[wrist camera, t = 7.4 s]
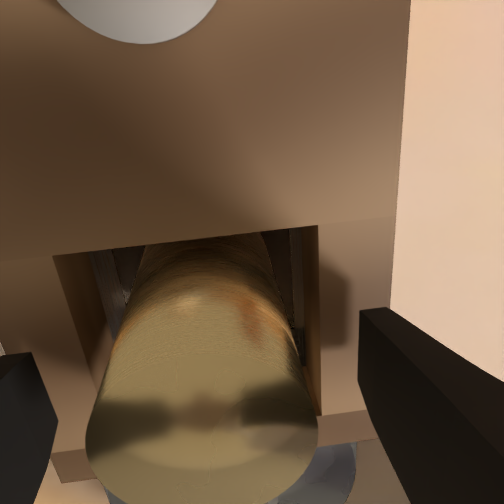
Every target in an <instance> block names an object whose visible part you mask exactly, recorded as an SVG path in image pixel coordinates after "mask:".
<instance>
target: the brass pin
mask: <svg viewBox="0 0 504 504" xmlns="http://www.w3.org/2000/svg"><path fill="white" fill-rule="evenodd" d="M317 442H318V422H317V418H316V414H315V410H314V407H313V403H312V400H311V396H310V393H309V390H308V386H307V383H306V380H305V376H304V373H303V369H302V366H301V363H300V359H299V356H298V353H297V349H296V346H295V342H294V339H293V336H292V332H291V329H290V326H289V322H288V319H287V315H286V312H285V309H284V305H283V302H282V299H281V295H280V292H279V288H278V285H277V282H276V278H275V275H274V272H273V268H272V265H271V261H270V258H269V255H268V251H267V248H266V245H265V242H264V240H263V237H262V236H261V234H260V232H252V233H243V234H234V235H226V236H217V237H209V238H200V239H191V240H183V241H174V242H166V243H157V244H148V245H146V247H145V250H144V253H143V256H142V259H141V262H140V265H139V268H138V271H137V274H136V277H135V280H134V284H133V287H132V290H131V293H130V296H129V299H128V302H127V305H126V308H125V311H124V314H123V317H122V320H121V323H120V326H119V330H118V333H117V336H116V339H115V342H114V345H113V348H112V351H111V354H110V357H109V360H108V363H107V366H106V369H105V372H104V376H103V379H102V382H101V385H100V388H99V391H98V394H97V397H96V400H95V403H94V406H93V409H92V412H91V415H90V418H89V421H88V425H87V429H86V435H85V449H86V454H87V458H88V461H89V464H90V466H91V468H92V470H93V472H94V473H95V475H96V477H97V478H98V480H99V481H100V482H101V483H102V484H103V485H104V486H105V488H107V489H108V490H109V491H110V492H111V493H112V494H114V495H115V496H116V497H118V498H119V499H121V500H122V501H124V502H126V503H128V504H265V503H267V502H268V501H270V500H272V499H274V498H276V497H277V496H279V495H280V494H281V493H283V492H284V491H286V490H287V489H288V488H289V487H290V486H291V485H293V484H294V483H295V482H296V481H297V480H298V479H299V477H300V476H301V475H302V474H303V473H304V471H305V470H306V468H307V467H308V465H309V464H310V462H311V460H312V458H313V456H314V453H315V450H316V446H317Z"/></svg>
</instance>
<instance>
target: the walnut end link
mask: <svg viewBox="0 0 504 504" xmlns="http://www.w3.org/2000/svg"><path fill="white" fill-rule="evenodd" d="M410 5H411V0H0V342H1V344H2V346H3V349H4V351H5V353H6V355H9V354H17V353H25V352H32V355H33V357H34V360H35V362H36V365H37V367H38V370H39V372H40V375H41V377H42V380H43V382H44V385H45V387H46V390H47V392H48V395H49V398H50V400H51V403H52V405H53V408H54V410H55V413H56V415H57V418H58V420H59V422H58V426H57V430H56V435H55V439H54V443H53V447H52V451H51V455H50V458H51V460H52V462H53V465H54V467H55V469H56V472H57V474H58V476H59V479H60V481H61V483H68V482H75V481H82V480H89V479H96V478H97V477H96V475H95V473H94V472H93V470H92V468H91V466H90V464H89V461H88V458H87V454H86V449H85V435H86V429H87V425H88V421H89V418H90V415H91V412H92V409H93V406H94V403H95V400H96V397H97V394H98V391H99V388H100V385H101V382H102V379H103V376H104V372H105V369H106V366H107V363H108V360H109V357H110V354H111V351H112V348H113V345H114V343H113V339H112V336H111V332H110V329H109V325H108V322H107V318H106V315H105V311H104V308H103V304H102V301H101V297H100V294H99V290H98V287H97V283H96V280H95V276H94V273H93V269H92V266H91V262H90V259H89V255H88V251H97V250H105V249H114V248H123V247H131V246H140V245H148V244H157V243H166V242H174V241H183V240H191V239H200V238H209V237H217V236H226V235H234V234H243V233H252V232H260V231H269V230H277V229H286V228H294V227H301V239H302V265H303V292H304V318H305V345H306V366H304V367H302V369H303V373H304V376H305V380H306V383H307V386H308V390H309V393H310V396H311V400H312V403H313V407H314V410H315V414H316V418H317V422H318V442H317V446H316V447H322V446H329V445H336V444H343V443H350V442H357V441H364V440H371V439H378V438H379V437H378V435H377V433H376V431H375V428H374V426H373V424H372V422H371V419H370V416H369V414H368V411H367V408H366V405H365V402H364V399H363V396H362V393H361V390H360V387H359V384H358V381H357V371H358V339H359V310H364V309H372V308H380V307H387V308H389V309H390V298H391V283H392V269H393V254H394V239H395V225H396V210H397V195H398V181H399V166H400V151H401V137H402V122H403V108H404V93H405V78H406V64H407V49H408V34H409V20H410Z"/></svg>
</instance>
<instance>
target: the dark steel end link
mask: <svg viewBox="0 0 504 504" xmlns="http://www.w3.org/2000/svg"><path fill="white" fill-rule="evenodd" d="M289 229H290V249H291V268H292V288H293V308H294V327H295V329H291V332H292V336H293V339H294V342H295V346H296V349H297V353H298V356H299V359H300V363H301V366H302V367H304V366H306V345H305V318H304V292H303V265H302V239H301V227H294V228H289ZM88 255H89V259H90V262H91V266H92V269H93V273H94V276H95V280H96V283H97V287H98V290H99V294H100V297H101V301H102V304H103V308H104V311H105V315H106V318H107V322H108V325H109V329H110V332H111V336H112V339H113V343H114V342H115V339H116V336H117V333H118V330H119V326H120V323H121V320H122V317H123V314H124V311H125V308H126V304H125V300H124V296H123V292H122V289H121V285H120V281H119V277H118V273H117V269H116V265H115V261H114V257H113V254H112V250H111V249H105V250H97V251H88ZM356 446H357V442H350V443H343V444H336V445H329V446H322V447H316V450H315V453H314V456H313V458H312V460H311V462H310V464H309V465H308V467H307V468H306V470H305V471H304V473H303V474H302V475H301V476H300V477H299V479H298V480H297V481H296V482H295V483H294V484H293V485H291V486H290V487H289V488H288V489H287V490H286V491H284V492H283V493H281V494H280V495H279V496H277V497H276V498H274V499H272V500H270V501H268V502H267V503H265V504H344V503H345V501H346V500H347V498H348V496H349V494H350V492H351V489H352V486H353V483H354V479H355V471H356ZM103 486H104V485H103ZM104 488H105V486H104ZM105 491H106V494H107V497H108V499H109V502H110V504H128V503H126V502H124V501H122V500H121V499H119V498H118V497H116V496H115V495H114V494H112V493H111V492H110V491H109V490H108V489H107V488H105Z"/></svg>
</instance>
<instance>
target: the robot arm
mask: <svg viewBox="0 0 504 504" xmlns="http://www.w3.org/2000/svg"><path fill="white" fill-rule="evenodd" d="M357 381H358V384H359V387H360V390H361V393H362V396H363V399H364V402H365V405H366V408H367V411H368V414H369V416H370V419H371V422H372V424H373V426H374V428H375V431H376V433H377V435H378V437H379V439H380V441H381V443H382V445H383V447H384V449H385V451H386V454H387V456H388V458H389V460H390V462H391V464H392V466H393V468H394V470H395V472H396V474H397V476H398V478H399V480H400V482H401V484H402V486H403V488H404V490H405V493H406V495H407V497H408V499H409V501H410V503H411V504H504V382H502V381H501V380H499V379H497V378H495V377H494V376H492V375H490V374H489V373H487V372H485V371H484V370H482V369H480V368H479V367H477V366H476V365H474V364H472V363H471V362H469V361H467V360H466V359H464V358H463V357H461V356H460V355H458V354H457V353H455V352H453V351H452V350H450V349H449V348H447V347H446V346H444V345H443V344H441V343H440V342H438V341H437V340H435V339H434V338H432V337H431V336H429V335H428V334H426V333H425V332H423V331H422V330H420V329H419V328H418V327H416V326H415V325H413V324H412V323H410V322H409V321H407V320H406V319H404V318H403V317H401V316H400V315H398V314H397V313H395V312H394V311H392V310H391V309H389V308H387V307H380V308H372V309H364V310H359V339H358V371H357ZM58 422H59V420H58V418H57V415H56V413H55V410H54V408H53V405H52V403H51V400H50V398H49V395H48V392H47V390H46V387H45V385H44V382H43V380H42V377H41V375H40V372H39V370H38V367H37V365H36V362H35V360H34V357H33V355H32V352H25V353H17V354H9V355H2V356H1V357H0V504H33V503H34V501H35V498H36V496H37V493H38V490H39V488H40V485H41V483H42V480H43V477H44V475H45V472H46V469H47V466H48V462H49V459H50V455H51V451H52V447H53V443H54V439H55V435H56V430H57V426H58Z"/></svg>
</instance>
